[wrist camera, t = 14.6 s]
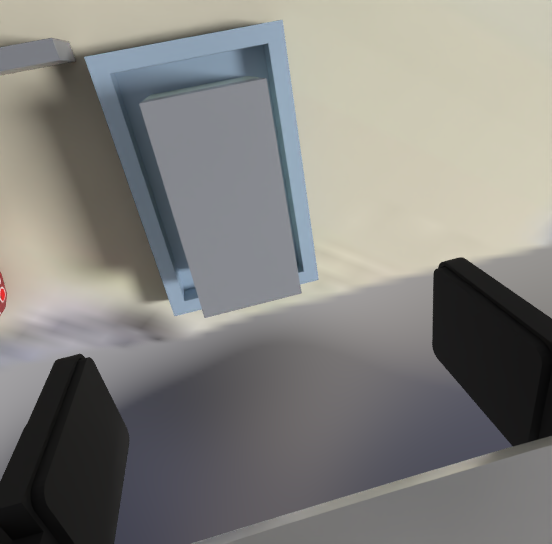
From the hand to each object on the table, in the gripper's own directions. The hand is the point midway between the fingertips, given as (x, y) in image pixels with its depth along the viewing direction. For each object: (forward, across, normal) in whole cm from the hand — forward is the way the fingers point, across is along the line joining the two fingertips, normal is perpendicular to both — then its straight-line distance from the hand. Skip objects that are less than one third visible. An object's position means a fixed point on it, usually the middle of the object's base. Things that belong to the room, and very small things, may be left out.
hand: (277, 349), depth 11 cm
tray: (+20, 0, 0) cm, 20 cm away
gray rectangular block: (+19, 0, 0) cm, 19 cm away
